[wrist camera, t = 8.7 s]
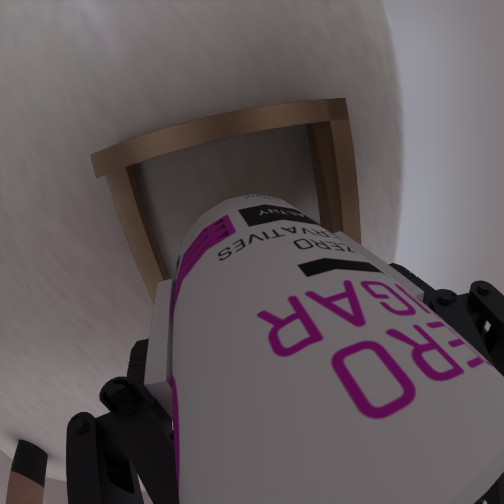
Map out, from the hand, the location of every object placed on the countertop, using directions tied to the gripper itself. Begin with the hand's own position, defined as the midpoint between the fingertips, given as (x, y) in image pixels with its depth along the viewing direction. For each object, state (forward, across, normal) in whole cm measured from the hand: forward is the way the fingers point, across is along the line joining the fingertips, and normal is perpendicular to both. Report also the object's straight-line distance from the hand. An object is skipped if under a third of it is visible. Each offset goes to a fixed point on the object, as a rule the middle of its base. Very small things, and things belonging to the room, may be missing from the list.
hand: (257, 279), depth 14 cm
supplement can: (+2, 0, 0) cm, 2 cm away
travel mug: (+8, -52, -32) cm, 62 cm away
